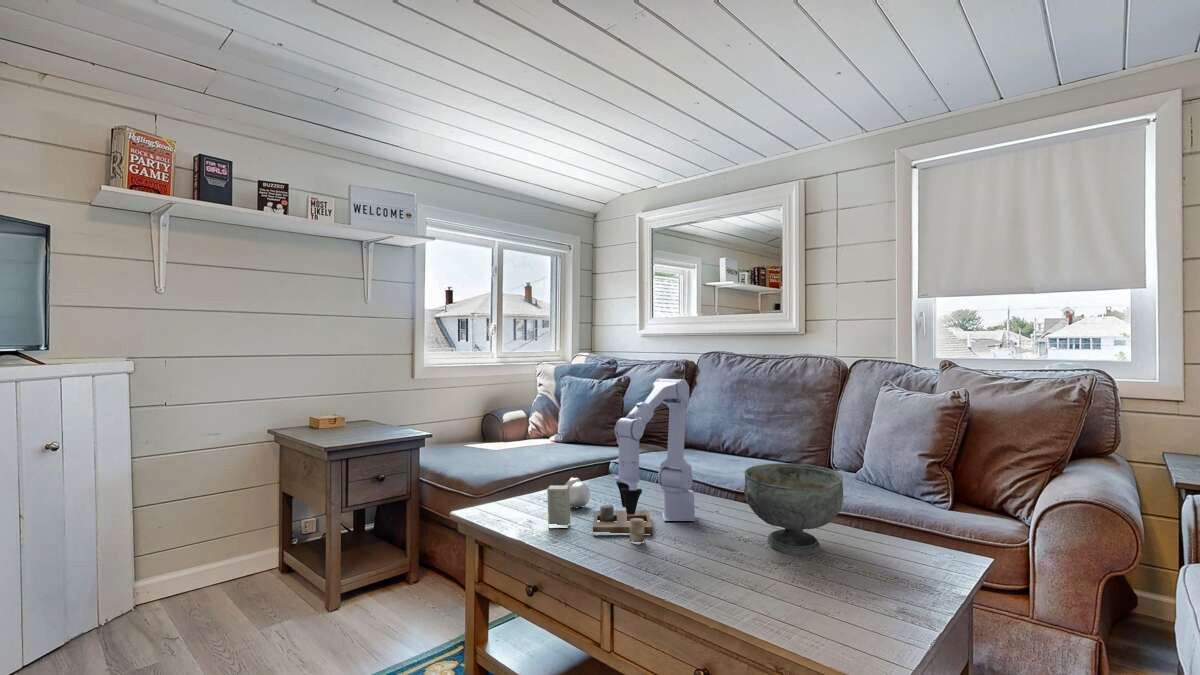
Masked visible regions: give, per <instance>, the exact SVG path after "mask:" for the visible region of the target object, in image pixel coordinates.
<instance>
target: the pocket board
mask: <svg viewBox="0 0 1200 675" xmlns="http://www.w3.org/2000/svg"><path fill="white" fill-rule="evenodd" d="M599 508H600V510H594V514H593V521H592V522H593V523H592V533H593V532H610V533H630V522H627V521H630V519H633V518H640V519H643V520H644V521H646V522H644V534H652V535H653V525H652V521H651V520H652V519H651V516H650V511H649V510H643V509H642V510H636V511H635V515H627V513H626V510H615V509H614V508H615V507H614V506H613V505H611V504H603V505H600V507H599ZM597 520H600V522H597ZM614 521H617V522H614Z"/></svg>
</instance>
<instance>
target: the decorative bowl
mask: <svg viewBox="0 0 1200 675" xmlns="http://www.w3.org/2000/svg"><path fill="white" fill-rule="evenodd" d="M743 472H744V488H743V493H744V497H745V501H746V503H747V505H748V507H750V509H751V511H752V512H753V513H754V514H755V515H756V516H757V517H758V518H759V519H761V521H763V522H765V523H766V524H767V525H770V526H772V527H779V528H782V529H778V530H774V531H772V532H771V533H769V534H768V536H767V543H768V544H769V545H770V547H772V548H773V549H775V550H777V551H779V552H782V553H786V554H789V555H800V556H801V555H803V556H806V555H812V554H815V553H817V552H818V551H820V549H821V545H820V542H819V540H818V539H817V538H816V537H815V536H814V535H813V534H810V533H809V532H806V531H804V530H813V529H818V528H821V527H824V526H826V525H827V524H830V523H831V522H832V521H834V519H835V518H836V517H837V516H838V514H839V513H840V511H841V510H842V505H843V502H844V500H843V499H844V485H843V484H844V483H843V481H844V480H843V474H841V473H840V472H839V471H837V470H835V469H831V468H828V467H824V466H818V465H813V464H812V465H811V464H805V463H801V464H800V463H789V462H788V463H784V462H782V463H780V462H779V463H763V464H756V465H752V466H749V467H747V468H746V469H744V471H743Z"/></svg>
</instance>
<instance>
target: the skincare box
mask: <svg viewBox="0 0 1200 675" xmlns="http://www.w3.org/2000/svg"><path fill="white" fill-rule="evenodd" d="M546 491H547V520H548V522H547V523H548V524H557V525H568V524H569V523H570V524H571V506H570V498H569V485H565V484H564V485H563V484H561V485H552V484H551V485H549V486H548V487H547V488H546ZM548 524H547V525H548Z"/></svg>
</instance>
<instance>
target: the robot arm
mask: <svg viewBox="0 0 1200 675" xmlns="http://www.w3.org/2000/svg"><path fill="white" fill-rule="evenodd" d="M689 401H690V386H689V384H688V382H687V380H686V379H684V378H680V379H678V378H676V379H675V378H674V379H673V378H660V377H659V378H656V380H655V381H654V382H653V383H652V391H651V392H650V394H649V395H648V396H647V397H646V399H645V400H644V401H642V402H637V403H636V404H635V406H634V407H633V409H631V410H630V411H629V413H627V415H626V416H625V417H621V418H619V419H618V420H617V421H616V422H615V427H614V435H615V437H616V443H617V444H618V476H614V477H613V480H614V481H615V484H616V485H617V488H618V491H619V496H620V502H621V507H622V508H625V511H626V513H627V515H635V511H637V506H638V502H639V499H640V497H641V494H642V493H643V489H642V488H638V484H639V482H640V480H641V477H640V439H641V438H642V437H643V435H644V431H645V429H646V425H647V424H648V423H649V422H650V421H651V419H652V418H653V417H654V414H655V412H654V410H655V409H656V408H657V407H658V406H659V405H660V404H661V403H663V404H665V405H666V406H667V408H668V410H669V412H668V414H669V415H668V434H667V451H666V452H667V454H666V459H664V460H662V462H661V463H659V465H660V466H659V471H658V473H657V482H658V484H659V486H660V487H661V490H663V512H662V513H661V516H662V515H663V516H662V520H663V522H665V521H694V522H696V519H695V513H696V511H695V494H694V490H693V489H691V488H692V485H693V482H694V481H693V480H694V478H693V477H694V476H693V473H692V465H691V464H690V463H688V462H687V460H686V459H684V458H685V457H684V456H685V438H686V437H685V436H686V434H685V433H686V411H687V410H686V409H687V406H688V405H689Z"/></svg>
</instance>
